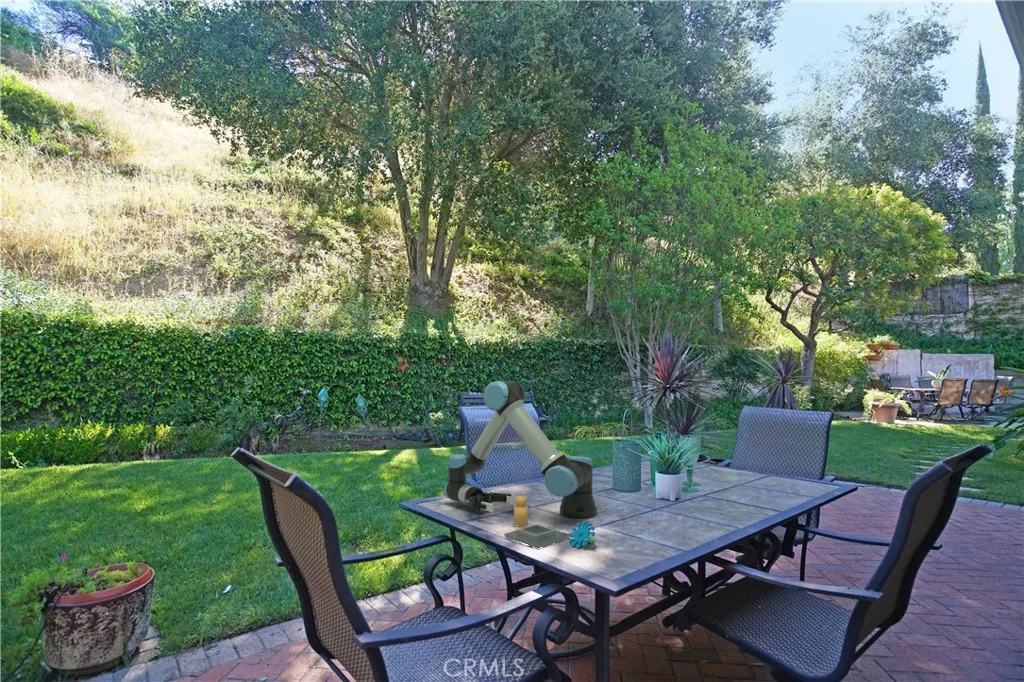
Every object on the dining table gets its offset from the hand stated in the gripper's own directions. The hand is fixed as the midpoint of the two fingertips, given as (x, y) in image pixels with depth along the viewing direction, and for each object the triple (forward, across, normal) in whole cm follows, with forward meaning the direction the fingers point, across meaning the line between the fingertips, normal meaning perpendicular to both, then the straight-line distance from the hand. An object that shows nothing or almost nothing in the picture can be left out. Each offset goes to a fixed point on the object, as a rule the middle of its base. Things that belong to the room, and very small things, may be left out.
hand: (505, 505), depth 210 cm
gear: (+39, +1, -6) cm, 40 cm away
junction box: (+23, +7, -6) cm, 25 cm away
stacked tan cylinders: (+8, 0, -6) cm, 10 cm away
